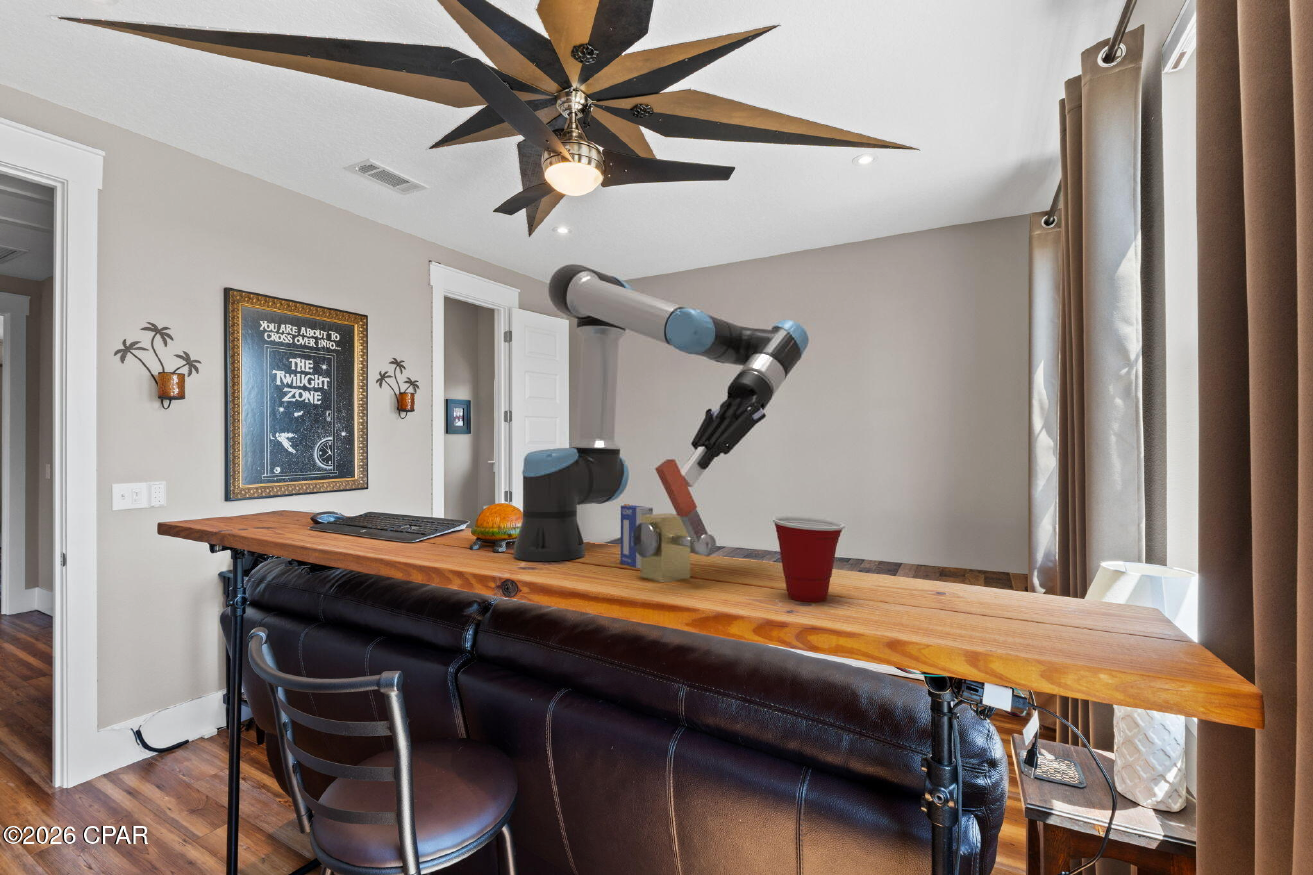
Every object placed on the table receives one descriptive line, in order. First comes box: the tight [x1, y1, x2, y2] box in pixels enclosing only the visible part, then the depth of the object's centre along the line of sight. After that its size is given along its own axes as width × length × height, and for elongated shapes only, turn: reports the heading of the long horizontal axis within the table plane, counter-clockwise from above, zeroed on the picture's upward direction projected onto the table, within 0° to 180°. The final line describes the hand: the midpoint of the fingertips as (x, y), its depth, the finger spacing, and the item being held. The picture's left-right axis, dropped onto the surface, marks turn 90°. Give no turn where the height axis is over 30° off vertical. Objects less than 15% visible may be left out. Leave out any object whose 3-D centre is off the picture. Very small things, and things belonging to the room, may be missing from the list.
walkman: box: [619, 503, 654, 570], centre depth 115 cm, size 8×3×12 cm, turn 35°
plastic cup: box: [772, 515, 846, 603], centre depth 88 cm, size 11×11×12 cm
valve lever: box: [654, 458, 717, 557], centre depth 93 cm, size 2×4×17 cm, turn 128°
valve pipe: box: [633, 512, 692, 583], centre depth 101 cm, size 11×10×11 cm
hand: (685, 481), depth 93 cm, fingers closed
